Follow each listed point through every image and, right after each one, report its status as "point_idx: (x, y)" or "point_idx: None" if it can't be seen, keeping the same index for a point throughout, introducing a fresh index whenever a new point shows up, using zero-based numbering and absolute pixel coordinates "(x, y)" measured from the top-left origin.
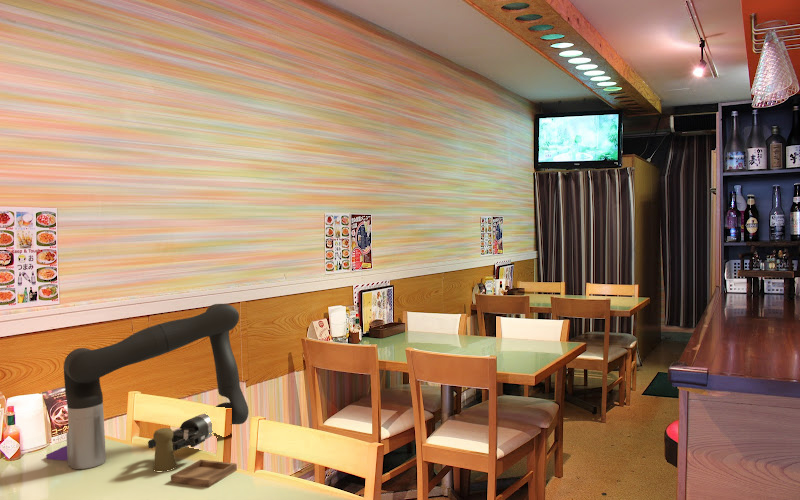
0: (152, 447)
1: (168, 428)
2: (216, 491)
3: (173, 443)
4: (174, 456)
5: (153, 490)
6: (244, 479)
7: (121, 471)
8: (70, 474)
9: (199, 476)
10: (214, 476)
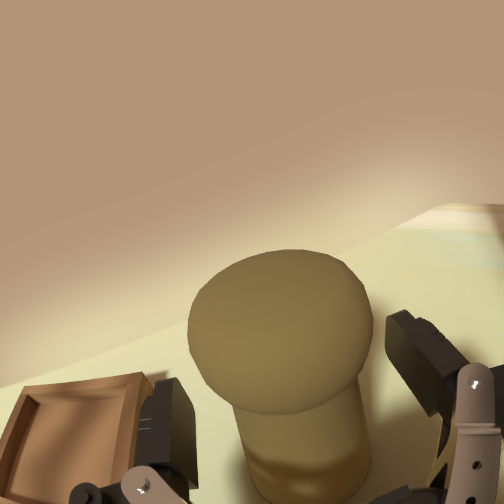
0: (394, 363)
1: (251, 315)
2: (18, 389)
3: (170, 378)
4: (262, 477)
5: (169, 339)
6: None
7: None
8: (492, 253)
9: (71, 432)
10: (14, 407)
